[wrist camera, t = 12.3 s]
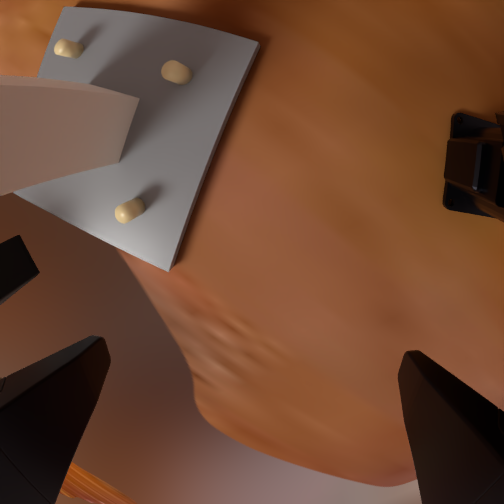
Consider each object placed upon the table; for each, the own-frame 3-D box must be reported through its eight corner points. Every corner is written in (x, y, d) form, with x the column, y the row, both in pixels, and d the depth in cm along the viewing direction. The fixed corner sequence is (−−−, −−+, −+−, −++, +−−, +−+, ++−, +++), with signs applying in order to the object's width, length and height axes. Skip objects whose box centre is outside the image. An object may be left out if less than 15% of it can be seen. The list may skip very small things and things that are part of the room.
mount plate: (260, 46, 17) (254, 32, 14) (173, 266, 23) (157, 284, 20) (71, 9, 16) (48, 0, 14) (20, 189, 22) (-4, 197, 20)
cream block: (140, 98, 18) (-31, 85, 6) (118, 163, 20) (-47, 213, 7) (88, 83, 18) (-73, 76, 6) (70, 143, 19) (-86, 178, 7)
